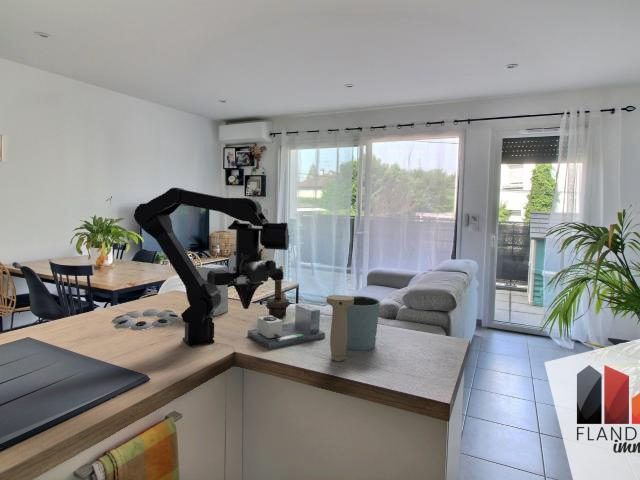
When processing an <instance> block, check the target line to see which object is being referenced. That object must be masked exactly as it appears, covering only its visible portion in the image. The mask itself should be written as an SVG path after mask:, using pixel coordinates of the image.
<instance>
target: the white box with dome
mask: <svg viewBox="0 0 640 480" xmlns="http://www.w3.org/2000/svg"><path fill="white" fill-rule="evenodd" d="M283 324H284V323H283V321H282V319H279V318H276V317H273V316H271V315H270V316H269V315H265V316H258V317H257V329H258V332H259V333H261V334H262V335H264V336H266V337H267V338H272V337H278V338H281V336H282V327H283Z"/></svg>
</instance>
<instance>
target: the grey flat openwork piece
mask: <svg viewBox="0 0 640 480" xmlns="http://www.w3.org/2000/svg"><path fill="white" fill-rule="evenodd" d="M142 316H143V317H156V318H158V319H155V320H154V321H152V322H151V323H150V322H149V321H146V320H140V321H137V322H135V321H134V319H139V318H138V317H140V318H143V317H142ZM132 318H134V319H132ZM181 319H182V317H181V316H179V315H177V313H176V312H175V311H174V310H173V311H172V310H166V309H165V310H161V311H160V310H159V309H151V308H149V309H145V310H144V311H143V312H141V311H138V310H134V311H128V312H126V313H125V314H122V315H119V316H115V317H114V318H112V320H111V321H112V322H113V323H112V322H111V323H112V324H114V325H113V328H114V327H115V329H119V328H124V329H130V330H132V329H134V330H133V331H143V330H142V329H146V330H148V329H147V328H150V327H152V326H154V327H152V328H166V326H167V327H169V326H171V325H172V324H173V323H175V322H179V321H181ZM132 320H133V321H132ZM115 323H116V324H115ZM120 323H121V324H120ZM138 324H141V326H140V325H138ZM129 327H131V328H129ZM150 329H151V328H150Z"/></svg>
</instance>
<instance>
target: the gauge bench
mask: <svg viewBox="0 0 640 480" xmlns="http://www.w3.org/2000/svg"><path fill="white" fill-rule="evenodd" d="M294 312H295V314H294V322H288V323H283V327H282V336H281V338H278V337H272V338H267V337H266V336H264V335H262V334H261V333H259V332H258V328H254V329H249V330H247V336H248V337H249V338H250V339H252V340H254V341H255V342H257V343H258V344H260V345H261V346H263V347H265V348H266V349H267V350H272V349H273V350H274V349H277V348H282V347H287V346H292V345H297V344H302V343H305V342H310V341H315V340H320V339H325V338H326V332H325V331H322V330H321V329H320V325H321V324H320V323H321V321H320V320H321V319H320V318H321V309H319V308H316V307H315V306H312V305H309V304H306V303H299V304H295V310H294Z"/></svg>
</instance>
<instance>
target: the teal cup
mask: <svg viewBox="0 0 640 480" xmlns="http://www.w3.org/2000/svg"><path fill="white" fill-rule="evenodd" d="M352 297H354V304H353V305H351V306H349V307H348V308H347V345H346V349H350V350H353V351H370V350H372V349H375V346H376V343H377V341H376V340H377V337H376V336H377V332H378V323H379V322H378V321H379V313H380V308H381V307H380V306H381V301H380V300H379V299H377V298H374V297H370V296H362V295H354V296H352Z"/></svg>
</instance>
